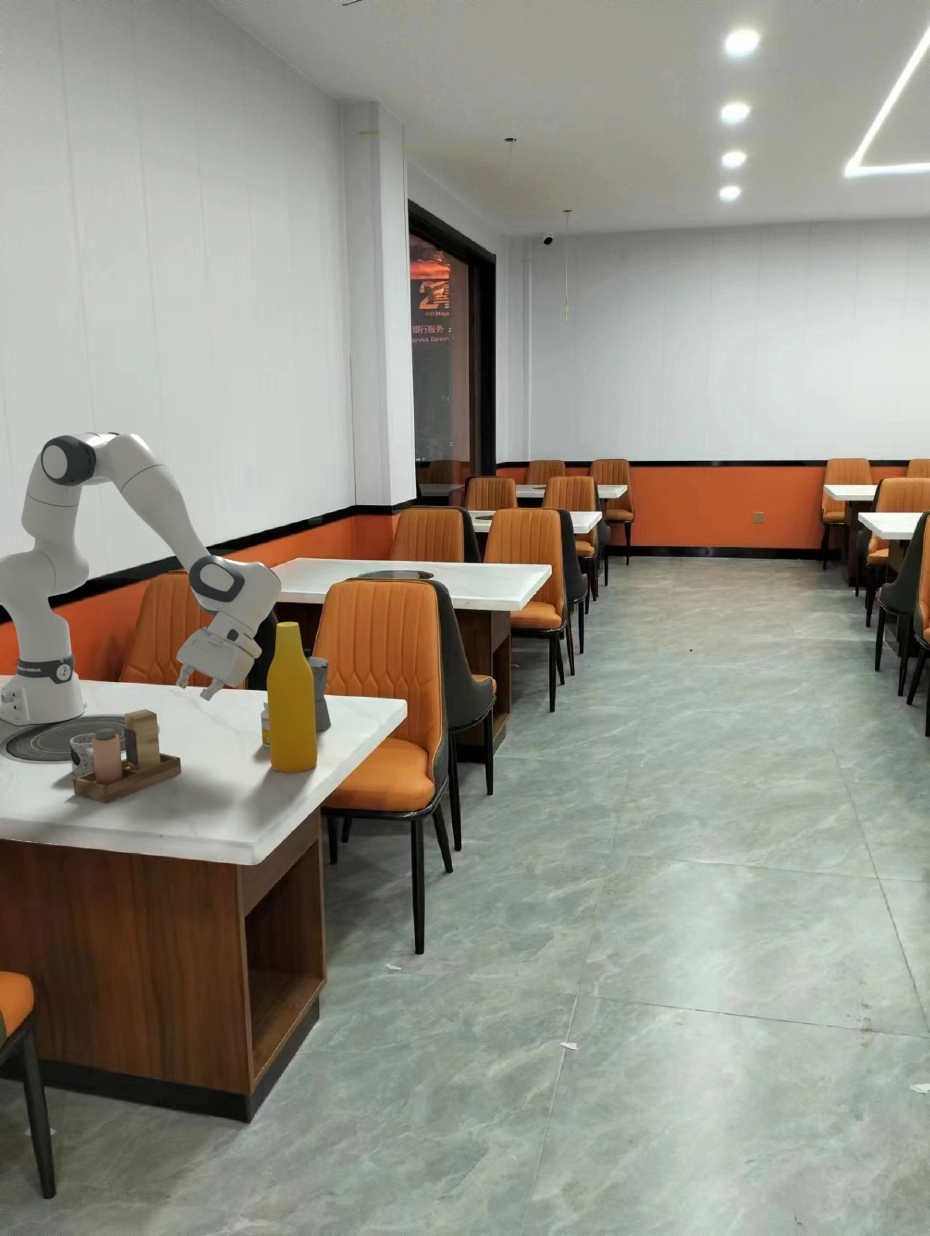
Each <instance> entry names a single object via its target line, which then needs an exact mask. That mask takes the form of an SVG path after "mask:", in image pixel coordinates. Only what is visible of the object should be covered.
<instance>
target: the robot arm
mask: <svg viewBox="0 0 930 1236" xmlns="http://www.w3.org/2000/svg"><path fill="white" fill-rule="evenodd" d="M110 482H112V483H113V485H114V486H115V488H116V489H117V491H118V493H119V494H120V495H121V497H122V498H123V500H124V501H125V502H126V503H127V505H129V507H130V509H132V510H133V512H135V514H136V515H137V516H139V518H140V519H141V520H142V521H143V522H144V523H145V524H147V526H149V527H150V529H152V530H153V531H154V533H156V534H157V535H158V536H159V537H160V539H162V540H163V542H164V543H166V544H167V546H168V547H169V548H170V549H171V551H172V552H173V554H174V555H175V557H176V559H178V561H179V562H180V564H181V565H182V567H183V568H184V570H185V571H186V574H187V575H188V582H189V586H190V588H191V591H192V593H193V594H194V595H193V596H194V597H195V600H196V602H197V605H198V606H199V608H200V609H201V610H202V611H203V612H204V613H206V614H208V615H211V616H214V618H213V620H212V621H211V623H210V624H209V626H208V625H207V626H204V627H202V628H198V629H197V630H196V631H195V632H193V633H192V634H191V635H190V636H189V637H188V638H187V639H186V641H185V642H184V643H183V644H182V646H180V648H179V649H178V651H177V653H176V656H175V657H176V660H177V661H178V662H180V663H182V666H181V668H180V672H179V677H178V678H177V681H175V685H176V686H178V687H180V688H181V689H183V690H185V689H186V688H187V686H188V685H189V684H190V681H189V678H190V676H191V675H192V674H193V673H194V672H195V671H197V672H198V673H200V674H203V675H205V676H208V677H210V678H212V680H211V684H209V686H208V687H207V688H203V689H202V691H201V692H200V693H199V697H200V698H201V699H203V700H206V701H207V702H209V701H211V700H212V698H213V696H214V695H215V694H217V693H219V691H221V690H222V689H223V688H224V686H225V685H227V686H228V687H232V688H237V687H238V686H240V685H241V684H242V683H243V682H244V680H245V679H246V677H247V676H248V674H249V673H250V671H251V669H252V667H253V665H254V664H255V659H258V658H259V657H260V656H261V654H263V653H262V652H263V650H262V648H261V647H260V645H258V643H257V642H256V641H255V639H254V637H255V636H256V635H257V633H258V629H259V627H260V624H261V623H262V622H264V620H265V619H267V617H269V614H270V613H271V611H272V609H273V608H274V606H275V604H276V603H277V601H278V599H279V598H280V594H281V591H282V583H281V580H280V578H279V576H278V575H277V574H276V573H275V572H274V571H273V570H272V569H271V568H270V567H268V565H266V564H264V563H263V562H260V561H253V562H242V561H236V560H231V559H227V558H224V557H222V556H218V555H212V554H211V553H210V551H208V549H207V547H206V546H205V544H204V543H203V542H202V540H201V539H200V537H199V535H198V534H197V533H196V532H197V531H196V530H195V528H194V526H193V523H192V521H191V520H190V516H189V513H188V510H187V506H186V503H185V500H184V497H183V494H182V492H181V489H180V487H179V485H178V483H177V481H176V478H175V477H174V476H173V473H171V471H170V469H169V468H168V467H167V464H165V462H164V461H163V460H162V459H161V456H159V454H158V453H157V452H156V451H155V450H154V449H153V448H152V447H151V446H150V445H149V444H148V443H147V442H146V441H145V440H144V439H143V438H142V437H140V436H139V435H138V434H137V433H132V432H125V433H124V432H123V433H120V432H119V433H118V432H114V431H110V432H99V431H97V432H95V431H90V432H84V433H76V434H71V435H67V434H64V435H59V436H56V437H53V438H52V439H50V440H48V441H47V442H46V443H45V444H44V445H43V447H42V449H41V451H40V453H38V455H37V457H36V459H35V462H34V464H33V466H32V469H31V472H30V475H29V479H28V483H27V485H26V486H27V487H26V491H25V497H24V502H23V508H22V514H21V518H20V522H21V525H22V528H23V529H24V531H25V532H26V533H27V534H28V535H30V536H31V537H33V538H34V547H33V548H32V550H29V551H24V552H17V553H12V554H7V555H5V556H4V555H3V556H1V557H0V605H1V606H2V607H3V608H4V609H5V610H6V612H7V613H8V614H9V616H10V617H11V619H12V621H13V624H14V626H15V631H16V636H17V643H18V650H19V659H14V660H13V662H15V663H14V664H13V666H16V665H17V666H16V674H15V675H14V676H13V677H12V678H11V679H10V680H9V681H8V682H6V684H4V685H3V686H2V687H1V689H0V719H1V720H3V721H5V722H7V723H9V724H12V725H14V726H26V725H28V726H29V725H32V724H33V725H35V724H37V725H39V724H49V723H58V722H64V721H67V720H72V719H74V718H77V717H79V716H81V715H82V714H83V713H84V712H85V707H87V700H85V699H83V694H82V688H81V683H80V680H79V675H78V673H76V672H75V669H76V666H75V663H76V660H75V657H74V656H75V655H74V653H72V647H71V646H72V645H71V636H70V635H71V634H70V626H69V622H68V621H67V620H66V619H65V618H64V617H63V616H61V615H59V614H58V613H55V612H54V611H53V609H52V608H51V606H50V603H49V597H53V596H57V595H61V594H62V595H63V594H68V593H69V592H72V591H74V590H76V589H78V588H79V587H82V586H83V585H84V584H86V582H87V581H88V578H89V576H90V565H89V561H88V560H87V559H88V558H87V557H86V556H85V554H83V552H82V551H80V549H78V547H77V543H76V540H75V539H76V538H75V537H76V536H75V529H76V521H77V516H78V512H79V505H80V501H81V500H80V499H81V494H82V490H83V487H84V486H96V485H100V484H104V483H110Z"/></svg>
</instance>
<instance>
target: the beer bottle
mask: <svg viewBox="0 0 930 1236" xmlns="http://www.w3.org/2000/svg"><path fill="white" fill-rule="evenodd" d="M300 632H301V631H300V625H299V623H298V622H295V621H284V622H279V623H277V624H276V632H275V650H274V656H273V659H272V661H271V664H270V666H269V668H268V671H267V677H266V689H267V690H266V692H267V694H266V695H267V699H268V714H269V733H270V747H269V751H270V753H269V754H270V755H269V757H270V763H271V767H272V768H273V770H275V771H276V772H277V771H278V772H281V773H287V772H288V773H300V772H305V771H309V770H312V769H313V768H314V767H315V766H316V764H317V763H318V749H317V746H318V745H317V732H316V725H315V701H314V679H313V673H312V670H311V668H310V666H309V664H308V662H307V660H306V658H305V656H304V652H303V650H304V649H303V645H302V638H301V637H302V636H301V633H300Z"/></svg>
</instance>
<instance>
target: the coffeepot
mask: <svg viewBox="0 0 930 1236" xmlns="http://www.w3.org/2000/svg"><path fill="white" fill-rule="evenodd" d="M311 650H312V649H309V648H305V649H303V654H304V656H305V658H306V660H307V662H308V664H309V666H310V668H311V670H312V673H313V679H314V701H315V725H316V733H319V732H323V731H325V730H328V729H329V728H330V727H331V726H332V723H331V718H330V714H329V709H328V705H327V701H326V700H327V699H326V697H325V691H326V689H327V683H328V682H327V681H328V675H329V674H328V673H329V672H328V671H329V668H330V667H329V664H330V661H329V660H327V659H326V658H323V657H316V656H311ZM328 727H329V728H328Z"/></svg>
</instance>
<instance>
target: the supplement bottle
mask: <svg viewBox="0 0 930 1236" xmlns="http://www.w3.org/2000/svg"><path fill="white" fill-rule="evenodd" d="M263 708H264V709H263V710H261V713H260V719H261V720H260V723H261V741H262V746H264V747H265V746H266V748H270V733H269V714H268V698H266V699H264V700H263Z"/></svg>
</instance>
